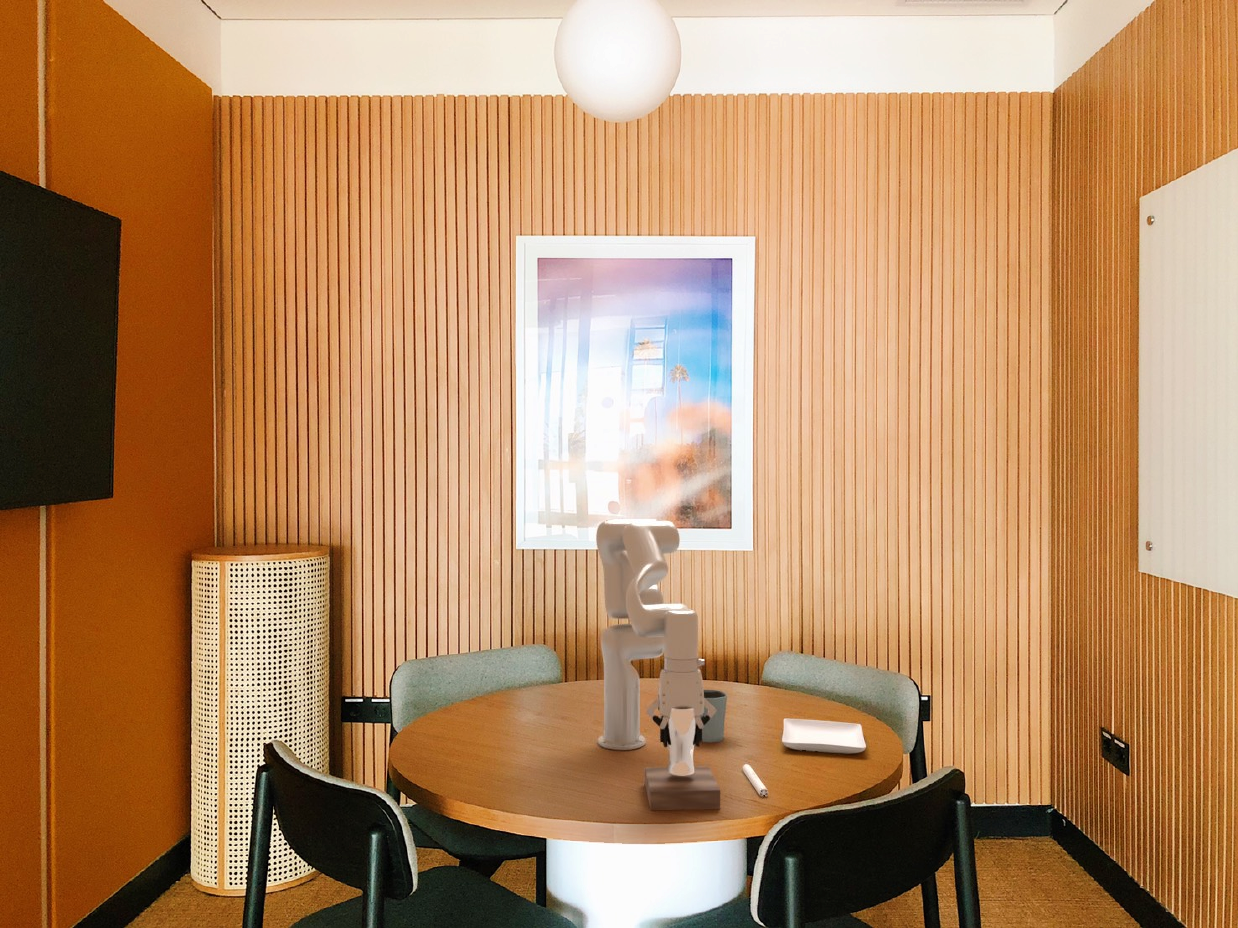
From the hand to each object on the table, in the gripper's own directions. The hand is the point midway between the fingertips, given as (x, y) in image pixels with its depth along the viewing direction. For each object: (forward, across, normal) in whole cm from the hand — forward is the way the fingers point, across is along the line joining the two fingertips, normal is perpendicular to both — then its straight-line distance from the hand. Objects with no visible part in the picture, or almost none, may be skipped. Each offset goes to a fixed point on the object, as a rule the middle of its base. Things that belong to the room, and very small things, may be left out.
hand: (681, 744), depth 189 cm
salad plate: (+12, -43, -36) cm, 57 cm away
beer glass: (+6, 0, 0) cm, 6 cm away
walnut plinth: (+12, 0, 0) cm, 12 cm away
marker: (+12, -18, -8) cm, 23 cm away
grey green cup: (+12, -13, -42) cm, 45 cm away
